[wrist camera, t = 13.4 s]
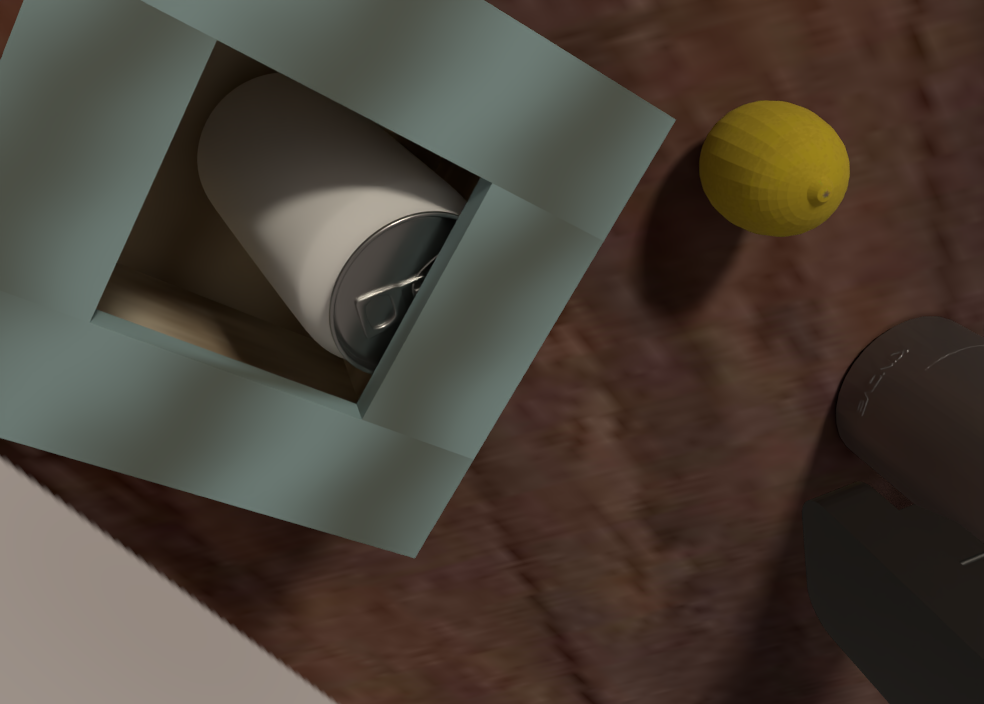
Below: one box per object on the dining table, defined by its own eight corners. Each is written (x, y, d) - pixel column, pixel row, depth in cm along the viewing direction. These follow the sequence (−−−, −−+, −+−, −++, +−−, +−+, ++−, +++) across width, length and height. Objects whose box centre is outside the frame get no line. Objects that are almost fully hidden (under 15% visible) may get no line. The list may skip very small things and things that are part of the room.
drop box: (521, 50, 39) (675, 119, 27) (348, 371, 43) (414, 558, 31) (138, -183, 32) (114, -231, 20) (-28, 228, 36) (-132, 399, 24)
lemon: (685, 223, 45) (777, 283, 38) (656, 116, 42) (751, 159, 35) (786, 175, 45) (895, 225, 38) (764, 65, 42) (878, 99, 35)
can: (371, 188, 39) (523, 332, 31) (228, 252, 37) (349, 423, 29) (329, 42, 35) (492, 163, 27) (165, 106, 33) (286, 257, 25)
